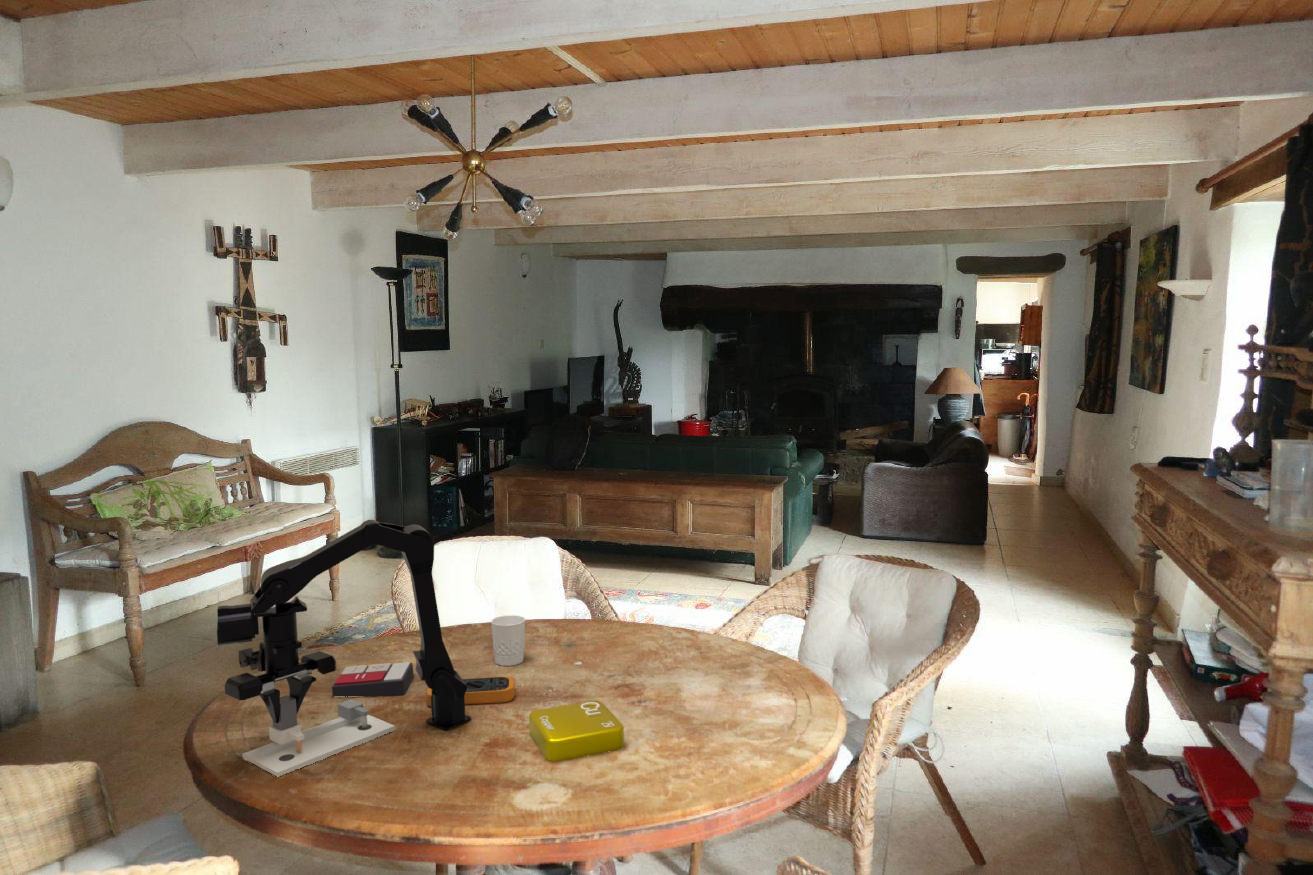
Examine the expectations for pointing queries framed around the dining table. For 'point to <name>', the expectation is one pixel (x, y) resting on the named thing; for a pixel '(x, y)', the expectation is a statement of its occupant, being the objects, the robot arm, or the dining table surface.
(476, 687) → the multimeter
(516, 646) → the white cup
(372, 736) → the plate
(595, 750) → the element tile
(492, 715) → the dining table surface
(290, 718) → the block
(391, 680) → the calculator
